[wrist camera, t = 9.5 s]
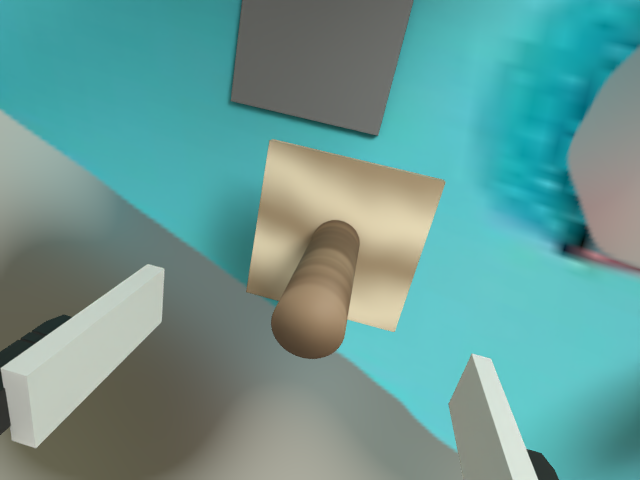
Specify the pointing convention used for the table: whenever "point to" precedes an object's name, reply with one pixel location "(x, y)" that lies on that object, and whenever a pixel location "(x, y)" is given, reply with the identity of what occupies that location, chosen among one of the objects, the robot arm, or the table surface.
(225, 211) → the table surface
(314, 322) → the lid
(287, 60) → the mat
